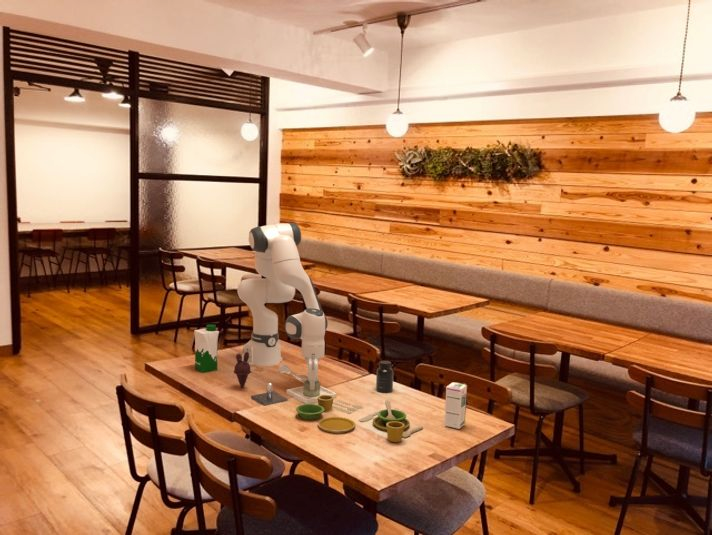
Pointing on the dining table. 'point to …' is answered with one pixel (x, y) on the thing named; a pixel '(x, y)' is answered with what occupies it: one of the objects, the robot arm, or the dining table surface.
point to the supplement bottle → (384, 377)
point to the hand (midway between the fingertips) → (311, 385)
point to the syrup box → (455, 405)
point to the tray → (300, 396)
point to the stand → (269, 397)
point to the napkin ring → (309, 392)
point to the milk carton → (206, 349)
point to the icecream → (242, 368)
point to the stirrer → (286, 370)
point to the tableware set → (385, 421)
